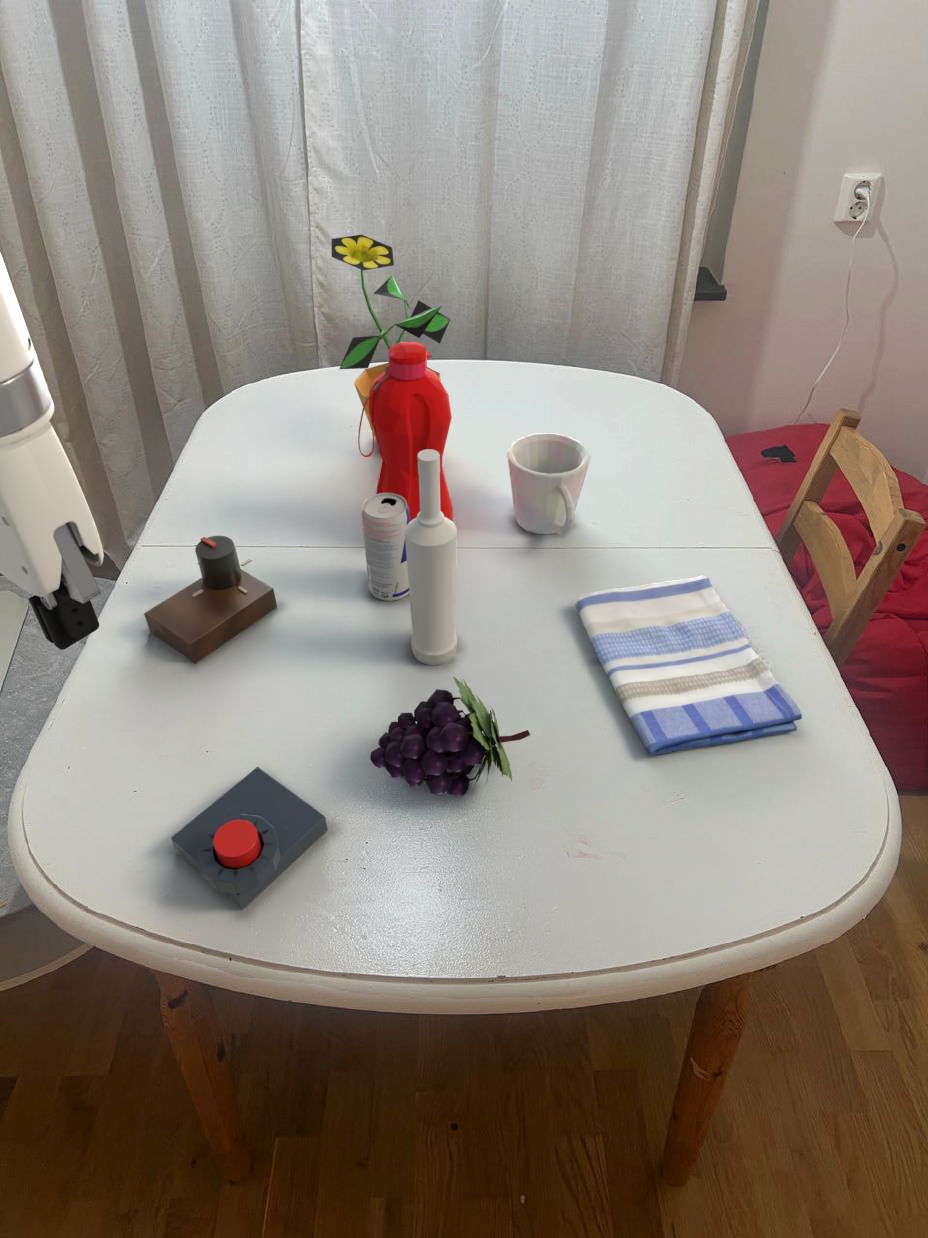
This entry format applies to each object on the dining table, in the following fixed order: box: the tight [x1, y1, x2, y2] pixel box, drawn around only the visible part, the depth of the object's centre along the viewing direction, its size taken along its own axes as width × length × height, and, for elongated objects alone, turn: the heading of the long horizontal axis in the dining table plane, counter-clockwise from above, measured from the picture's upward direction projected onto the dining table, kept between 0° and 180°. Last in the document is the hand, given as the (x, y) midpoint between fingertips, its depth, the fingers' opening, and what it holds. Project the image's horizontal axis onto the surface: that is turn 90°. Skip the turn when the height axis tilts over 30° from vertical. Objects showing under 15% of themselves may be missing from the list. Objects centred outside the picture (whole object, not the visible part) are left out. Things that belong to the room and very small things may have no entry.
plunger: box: [213, 820, 261, 868], centre depth 71 cm, size 4×4×2 cm
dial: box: [194, 535, 242, 590], centre depth 98 cm, size 4×4×5 cm
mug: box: [506, 432, 591, 536], centre depth 109 cm, size 10×15×10 cm
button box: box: [170, 766, 328, 910], centre depth 75 cm, size 11×10×4 cm
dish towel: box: [575, 574, 803, 755], centre depth 92 cm, size 17×24×3 cm
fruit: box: [369, 675, 531, 798], centre depth 79 cm, size 10×11×15 cm
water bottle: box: [357, 341, 454, 522], centre depth 103 cm, size 9×11×25 cm
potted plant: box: [331, 234, 451, 446], centre depth 117 cm, size 18×19×30 cm
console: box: [143, 558, 278, 665], centre depth 98 cm, size 14×10×3 cm
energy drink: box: [361, 493, 410, 602], centre depth 99 cm, size 5×5×12 cm
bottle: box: [405, 449, 458, 666], centre depth 86 cm, size 5×5×25 cm
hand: (74, 634), depth 60 cm, fingers closed
